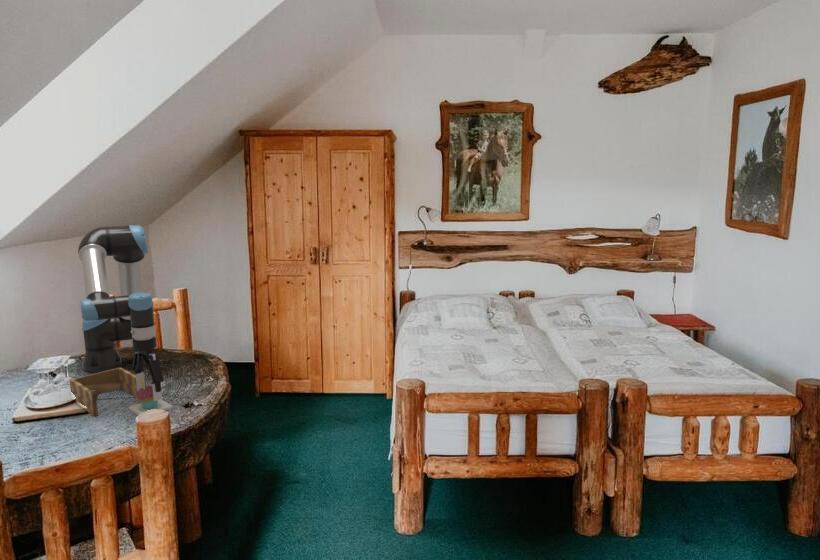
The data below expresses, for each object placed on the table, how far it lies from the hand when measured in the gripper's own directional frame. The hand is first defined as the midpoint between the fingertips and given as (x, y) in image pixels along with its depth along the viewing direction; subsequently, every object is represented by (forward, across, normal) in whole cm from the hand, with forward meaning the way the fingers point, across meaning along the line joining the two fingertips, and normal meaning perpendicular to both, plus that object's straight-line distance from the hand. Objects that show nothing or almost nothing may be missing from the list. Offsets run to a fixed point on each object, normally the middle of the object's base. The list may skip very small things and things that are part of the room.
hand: (149, 395), depth 215 cm
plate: (+5, 0, 0) cm, 5 cm away
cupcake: (+4, 0, 0) cm, 4 cm away
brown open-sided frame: (+5, -19, -7) cm, 21 cm away
